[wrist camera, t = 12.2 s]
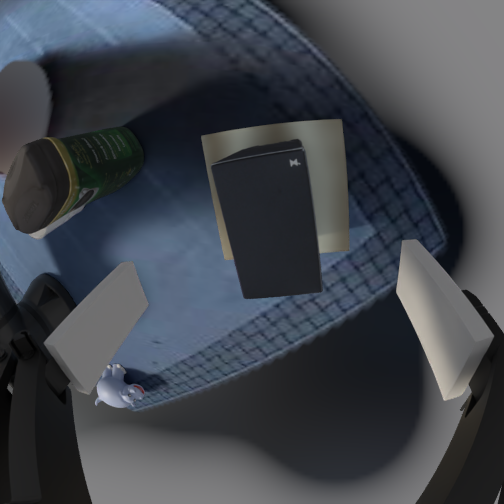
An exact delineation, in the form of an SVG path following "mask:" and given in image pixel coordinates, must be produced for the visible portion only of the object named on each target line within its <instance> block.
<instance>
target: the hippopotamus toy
mask: <svg viewBox="0 0 504 504" xmlns="http://www.w3.org/2000/svg"><path fill="white" fill-rule="evenodd" d="M124 374H126V371H125V369H124V368H123V367H121V365H120V364H113V368H112V367H111V365H108V366H107V367H106V369H105V370H104V372H103V377H102V379H101V380H100V381H99V382H98V385H97V392H98V395H99V397H98V398H97V399H96V401H95V404H96V405H97V403H99V402H100V401H104V402H105V403H107V404H109V405H111V406H113V407H119V408H122V407H127V406H129V405H130V404H131V405H132V406H133V407H135V406H136V404H133V402H135V401H136V399H142V398H143V397H144V394H145V391H144V389H143V387H142V386H140V385H138V384H131V385H128V384H126V383H125V382H124V381H123V380H124Z"/></svg>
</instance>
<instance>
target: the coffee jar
mask: <svg viewBox="0 0 504 504" xmlns="http://www.w3.org/2000/svg"><path fill="white" fill-rule="evenodd" d="M143 162H144V153H143V149H142V147H141V145H140V143H139V141H138V139H137V138H136V137H135V135H134V134H133V133H132V132H131V131H130V130H129V129H127V128H125V127H115V128H108V129H103V130H99V131H94V132H90V133H85V134H80V135H75V136H70V137H66V138H59V139H56V138H52V137H47V138H42V139H39V140H36V141H34V142H31V143H28V144H26V145H24V146H22V147H21V149H20V150H19V152H18V153H17V155H16V157H15V159H14V161H13V163H12V165H11V167H10V170H9V172H8V174H7V177H6V180H5V185H4V193H3V198H2V202H3V205H4V207H5V210H6V212H7V214H8V216H9V218H10V220H11V222H12V224H13V226H14V227H15V229H16V230H19V231H21V232H23V233H26V234H32V233H35V232H37V231H39V230H41V229H43V228H46V227H47V226H49V225H50V224H52V223H53V222H55V221H56V220H58V219H60V218H61V217H63V216H64V215H66V214H68V213H70V212H72V211H74V210H76V209H78V208H80V207H82V206H84V205H86V204H88V203H90V202H92V201H95V200H97V199H99V198H101V197H104V196H106V195H108V194H111V193H113V192H115V191H117V190H118V189H120V188H121V187H123V186H124V185H125V184H127V183H128V182H129V181H130V180H131V179H132V178H133V177H134V176H135V175H136V174H137V173H138V171H139V170H140V169H141V167H142V165H143Z"/></svg>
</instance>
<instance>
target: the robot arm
mask: <svg viewBox="0 0 504 504" xmlns="http://www.w3.org/2000/svg"><path fill="white" fill-rule="evenodd" d="M396 292H397V294H398V296H399V298H400V300H401V302H402V304H403V306H404V308H405V310H406V312H407V314H408V316H409V318H410V320H411V322H412V324H413V326H414V328H415V331H416V333H417V335H418V337H419V339H420V342H421V344H422V346H423V348H424V351H425V353H426V355H427V357H428V360H429V362H430V365H431V367H432V370H433V372H434V375H435V377H436V380H437V383H438V385H439V388H440V391H441V393H442V396H443V399H444V401H445V400H449V399H452V398H455V397H458V396H461V395H462V394H463V392H464V391H465V389H466V388H467V386H468V384H469V386H470V388H471V391H472V393H471V394H470V396H469V397H468V399H467V400H466V402H465V403H464V404H463V406H462V407H461V409H460V410H461V411H462V410H463V409H464V408H465V409H464V412H463V414H462V417H461V419H460V422H459V424H458V427H457V429H456V431H455V434H454V436H453V438H452V440H451V442H450V445H449V447H448V449H447V451H446V453H445V455H444V457H443V459H442V461H441V462H440V464H439V466H438V468H437V470H436V472H435V473H434V475H433V477H432V478H431V480H430V482H429V484H428V485H427V487H426V488H425V490H424V492H423V493H422V495H421V496H420V498H419V499H418V501H417V502H416V504H494V502H495V500H496V498H497V496H498V493H499V491H500V488H501V486H502V488H501V492H500V496H499V500H498V504H504V333H503V332H502V330H501V329H500V327H499V326H498V325H497V323H496V322H495V320H494V319H493V318H492V316H491V315H490V314H489V313H488V311H487V310H486V308H485V307H484V306H483V304H482V303H481V302H480V300H479V299H478V298H477V297H476V296H475V295H474V294H472V293H471V292H469V291H468V290H460V288H459V287H458V286H457V285H456V284H455V282H454V281H453V280H452V279H451V278H450V276H449V275H448V274H447V273H446V271H445V270H444V269H443V268H442V267H441V266H440V265H439V264H438V262H437V261H436V260H435V259H434V258H433V257H432V256H431V254H430V253H429V252H428V251H427V250H426V249H425V248H424V247H423V246H422V245H421V244H420V243H419V241H418V240H417V239H413V240H402V247H401V258H400V267H399V275H398V283H397V290H396ZM148 305H149V304H148V301H147V299H146V296H145V294H144V291H143V288H142V286H141V283H140V280H139V278H138V275H137V272H136V269H135V266H134V264H133V261H131V262H121V263H120V264H119V265H118V266H117V267H116V268H115V269H114V270H113V271H112V272H111V273H110V274H109V275H108V276H107V277H106V278H105V279H104V280H103V281H102V282H100V283H99V284H98V285H97V286H96V287H95V288H94V289H93V290H92V291H91V292H90V293H89V294H88V295H87V296H86V297H85V298H84V299H83V301H82V302H81V303H80V304H79V305H78V306H77V307H76V305H75V303H74V301H73V299H72V298H71V296H70V295H69V293H68V292H67V291H66V290H65V288H64V287H63V286H62V285H61V284H60V283H59V282H58V281H57V280H55V279H54V278H52V277H51V276H48V275H45V274H41V275H39V276H38V277H36V278H35V279H34V280H33V281H32V282H31V284H30V286H29V288H28V289H27V291H26V293H25V295H24V297H23V299H22V300H21V301H20V302H19V303H18V304H16V303H15V301H14V299H13V297H12V295H11V293H10V291H9V289H8V287H7V285H6V283H5V281H4V279H3V277H2V274H1V272H0V504H92V502H91V498H90V495H89V492H88V488H87V484H86V481H85V476H84V473H83V468H82V464H81V459H80V455H79V449H78V443H77V437H76V431H75V424H74V417H73V407H72V396H71V390H70V389H69V387H68V386H67V385H68V384H69V383H70V382H71V383H72V384H73V385H74V387H75V388H76V389H77V390H78V391H80V392H83V393H86V394H90V392H91V391H92V389H93V388H94V386H95V384H96V383H97V381H98V380H99V378H100V376H101V375H102V373H103V372H104V370H105V369H106V367H107V366H108V364H109V363H110V361H111V359H112V358H113V356H114V355H115V353H116V352H117V350H118V349H119V347H120V346H121V344H122V343H123V341H124V340H125V339H126V337H127V336H128V334H129V333H130V331H131V330H132V328H133V327H134V325H135V324H136V323H137V321H138V320H139V318H140V317H141V315H142V314H143V313H144V311H145V310H146V308H147V307H148ZM8 384H9V385H10V386H11V387H12V388H13V393H12V394H11V393H10V392H9V391H8V389H7V386H8Z"/></svg>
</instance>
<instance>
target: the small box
mask: <svg viewBox="0 0 504 504" xmlns="http://www.w3.org/2000/svg"><path fill="white" fill-rule="evenodd" d="M211 171H212V175H213V179H214V183H215V187H216V191H217V195H218V199H219V203H220V207H221V211H222V215H223V219H224V223H225V227H226V231H227V235H228V239H229V243H230V246H231V250H232V254H233V258H234V262H235V266H236V270H237V274H238V278H239V282H240V286H241V290H242V294H243V297H244V298H245V299H256V298H268V297H281V296H291V295H301V294H310V293H319V292H322V291H323V288H322V275H321V263H320V253H319V243H318V233H317V225H316V217H315V210H314V202H313V195H312V187H311V181H310V174H309V168H308V163H307V157H306V151H305V149H304V147H303V145H302V141H300V140H299V139H293V140H290V141H284V142H279V143H274V144H266V145H261V146H259V145H257V146H253V147H250V148H246V149H242V150H240V151H238V152H236V153H234V154H232V155H230V156H228V157H225V158H223V159H221V160H219V161H217V162H215V163H212V164H211Z"/></svg>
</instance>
